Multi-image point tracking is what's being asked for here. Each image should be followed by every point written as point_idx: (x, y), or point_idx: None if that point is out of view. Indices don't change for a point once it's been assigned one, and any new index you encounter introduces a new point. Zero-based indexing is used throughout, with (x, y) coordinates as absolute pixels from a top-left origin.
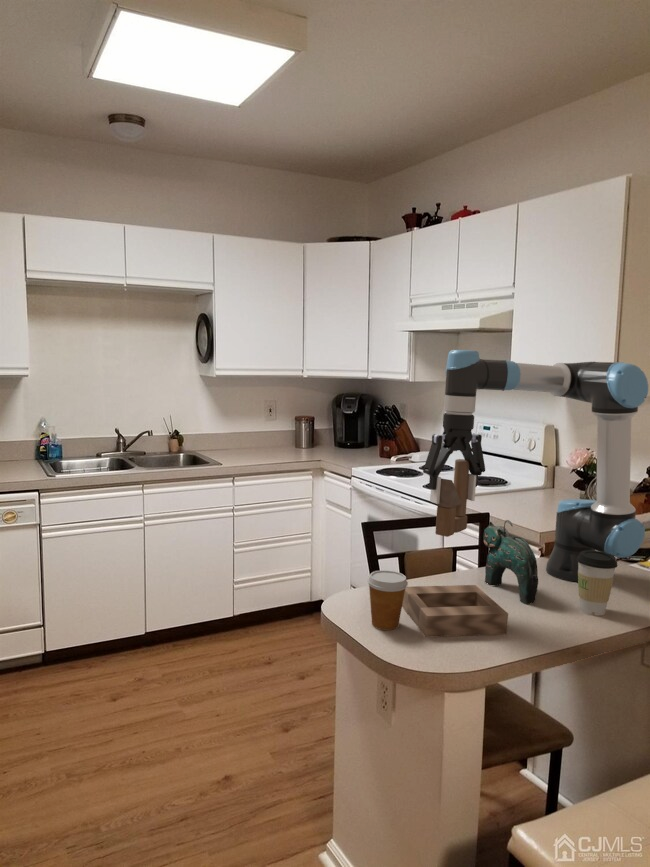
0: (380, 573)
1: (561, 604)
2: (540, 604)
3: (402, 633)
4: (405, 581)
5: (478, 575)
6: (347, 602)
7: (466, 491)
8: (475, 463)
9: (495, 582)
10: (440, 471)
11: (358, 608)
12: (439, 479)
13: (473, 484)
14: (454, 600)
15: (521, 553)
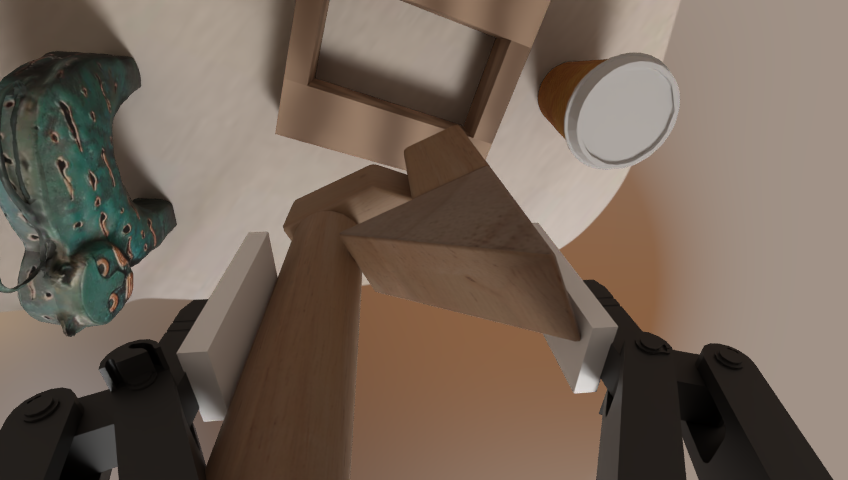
0: (615, 156)
1: (6, 10)
2: (85, 39)
3: (566, 33)
4: (604, 71)
5: (168, 266)
6: (552, 223)
7: (289, 287)
8: (134, 475)
9: (154, 202)
10: (625, 372)
11: (554, 190)
12: (601, 315)
13: (234, 297)
14: (370, 101)
15: (51, 122)
